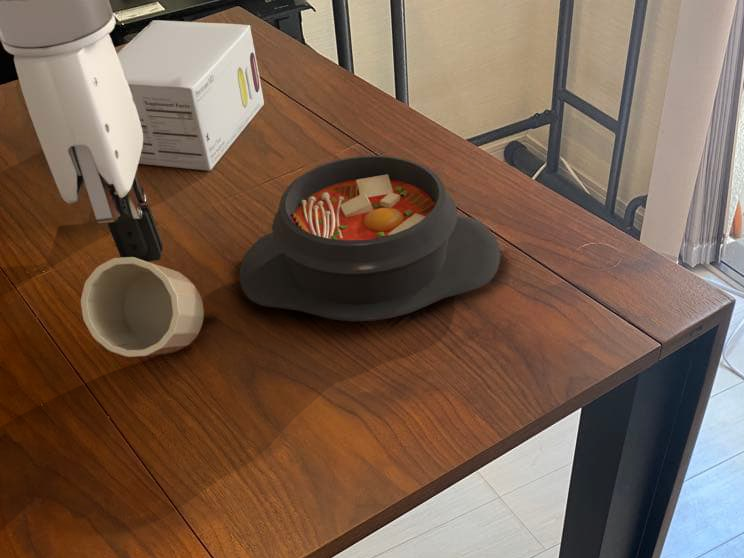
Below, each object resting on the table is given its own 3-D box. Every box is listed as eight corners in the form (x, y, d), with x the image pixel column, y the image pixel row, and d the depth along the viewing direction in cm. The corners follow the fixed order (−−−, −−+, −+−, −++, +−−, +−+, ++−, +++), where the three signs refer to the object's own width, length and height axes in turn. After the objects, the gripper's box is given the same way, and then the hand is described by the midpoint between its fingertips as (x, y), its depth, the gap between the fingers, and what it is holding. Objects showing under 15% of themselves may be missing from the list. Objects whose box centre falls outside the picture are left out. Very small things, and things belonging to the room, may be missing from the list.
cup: (126, 355, 76) (88, 359, 66) (115, 269, 74) (74, 260, 64) (208, 350, 76) (183, 353, 66) (198, 265, 75) (172, 254, 64)
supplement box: (213, 173, 96) (191, 88, 88) (111, 164, 98) (81, 80, 91) (267, 103, 105) (251, 21, 98) (173, 96, 108) (151, 16, 101)
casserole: (235, 349, 76) (213, 269, 69) (249, 234, 87) (231, 155, 81) (511, 326, 75) (515, 243, 69) (489, 213, 87) (490, 133, 80)
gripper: (20, -25, 60) (113, 213, 74) (-36, 64, 50) (83, 317, 65) (124, -38, 59) (197, 203, 74) (87, 49, 50) (179, 306, 64)
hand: (143, 256), depth 69 cm, fingers closed
